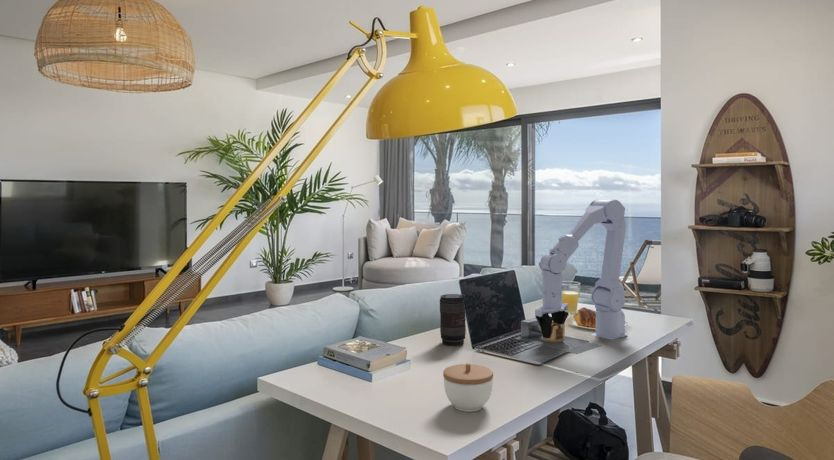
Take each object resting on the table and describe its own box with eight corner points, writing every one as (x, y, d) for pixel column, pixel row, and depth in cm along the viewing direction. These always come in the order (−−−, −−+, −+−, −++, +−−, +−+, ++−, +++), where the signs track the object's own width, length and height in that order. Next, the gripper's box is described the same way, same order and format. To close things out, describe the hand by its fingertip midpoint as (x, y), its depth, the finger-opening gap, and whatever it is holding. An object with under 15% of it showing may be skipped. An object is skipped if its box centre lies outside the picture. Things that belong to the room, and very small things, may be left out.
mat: (539, 333, 179) (539, 331, 179) (601, 347, 161) (601, 345, 161) (513, 340, 171) (513, 338, 171) (576, 355, 153) (576, 353, 153)
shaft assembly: (534, 333, 177) (534, 317, 176) (561, 339, 169) (561, 323, 168) (521, 337, 172) (521, 320, 172) (548, 343, 164) (548, 326, 164)
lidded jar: (459, 394, 124) (459, 354, 124) (501, 403, 118) (501, 361, 118) (434, 409, 116) (433, 366, 115) (478, 420, 110) (478, 375, 109)
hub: (553, 338, 170) (553, 321, 170) (564, 340, 167) (564, 323, 167) (543, 341, 166) (543, 324, 166) (554, 344, 163) (554, 326, 163)
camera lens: (466, 340, 172) (465, 293, 171) (465, 347, 164) (465, 298, 163) (440, 339, 172) (440, 293, 172) (439, 346, 164) (438, 297, 164)
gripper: (548, 297, 159) (548, 342, 159) (576, 291, 168) (576, 334, 169) (529, 294, 164) (529, 338, 165) (557, 288, 173) (557, 330, 174)
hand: (552, 336), depth 167 cm, fingers closed on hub, 5 cm apart
